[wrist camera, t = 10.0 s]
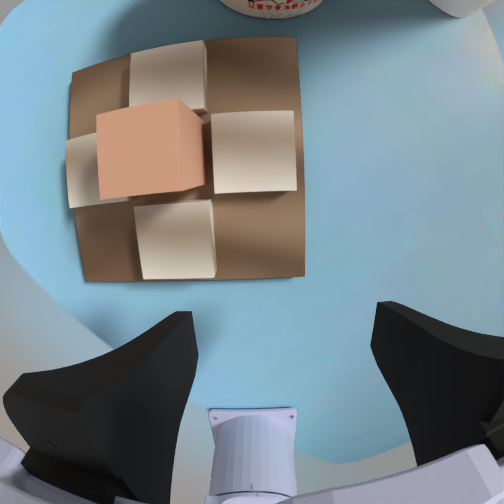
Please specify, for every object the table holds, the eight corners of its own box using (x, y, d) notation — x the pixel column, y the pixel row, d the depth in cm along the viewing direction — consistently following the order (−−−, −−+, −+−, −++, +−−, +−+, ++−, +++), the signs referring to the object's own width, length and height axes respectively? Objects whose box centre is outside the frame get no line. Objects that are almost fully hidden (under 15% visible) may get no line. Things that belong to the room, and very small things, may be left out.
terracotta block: (206, 184, 17) (183, 190, 12) (145, 189, 18) (100, 199, 12) (203, 120, 16) (178, 98, 11) (142, 129, 16) (96, 114, 11)
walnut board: (302, 271, 20) (308, 285, 18) (92, 276, 20) (76, 288, 18) (293, 42, 16) (298, 27, 13) (79, 75, 16) (61, 67, 14)
